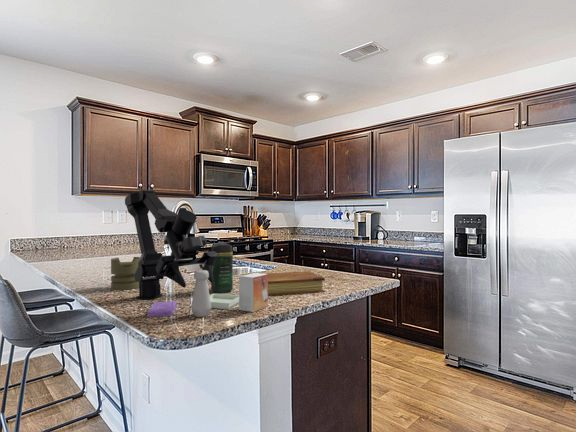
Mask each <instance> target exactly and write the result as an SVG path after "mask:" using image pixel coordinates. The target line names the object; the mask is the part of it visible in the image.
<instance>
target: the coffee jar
mask: <svg viewBox="0 0 576 432" xmlns="http://www.w3.org/2000/svg"><path fill="white" fill-rule="evenodd" d="M210 252H216V253H217V255H218V259H217V261H216V262H215V264H214V266H213V267H212V270H213V283H211V282H210V289H211V290H212V292H214V293H220V294H224V293H225V294H226V293H228V292H232V291H233V289H234V287H233V286H234V284H233V283H234V280H233V278H234V277H233V276H234V275H233V270H234V269H233V267H234V265H233V263H234V262H233V260H234V257H233V255H234V254H233V252H234V251H233V246H232V245H231V244H229V243H225V242H215V243H214V244H212V245H211V247H210Z"/></svg>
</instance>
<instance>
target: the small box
mask: <svg viewBox="0 0 576 432" xmlns="http://www.w3.org/2000/svg"><path fill="white" fill-rule="evenodd" d="M238 295H239V304H238V308H239V311H243V312H251V313H255V312H257V311H260V310H262V309H266V307H267V308H268V307H269V296H268V274H266V273H257V272H253V273H249V274H245V275H239V276H238Z"/></svg>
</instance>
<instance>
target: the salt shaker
mask: <svg viewBox="0 0 576 432" xmlns="http://www.w3.org/2000/svg"><path fill="white" fill-rule="evenodd" d="M193 278H194V280H195V282H194V288H193V293H192V301H191V305H190V307H191V312H192V314H193V316H194V317H196V318H204V317H208V316H209V314H210V312H211V310H212V308H211V301H210V295H211V294H210V291H209V285H208V279H207V278H209V273H208V271H206V270H202V269H200V270H195V271H194V273H193Z"/></svg>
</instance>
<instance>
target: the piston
mask: <svg viewBox="0 0 576 432" xmlns="http://www.w3.org/2000/svg"><path fill="white" fill-rule="evenodd" d="M140 257H141V256H133V259H132V261H121V260H120V257H115V258H111V259H110V274H111V275H112V276H111V277H110V281H111V283H110V289H112V290H111V291H113V290H129V291H133V290H132V289H135V290H139V282H138V281H135V276H134V274H135V272H136V270H137V268H138V262H139V259H140Z"/></svg>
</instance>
